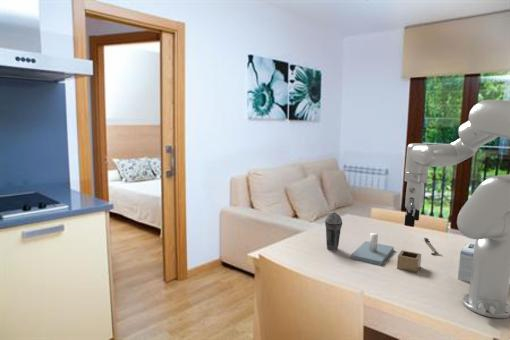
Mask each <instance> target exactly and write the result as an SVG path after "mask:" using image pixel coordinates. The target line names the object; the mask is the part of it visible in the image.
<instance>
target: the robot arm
mask: <svg viewBox="0 0 510 340" xmlns="http://www.w3.org/2000/svg"><path fill="white" fill-rule="evenodd" d="M457 133H458V136H459V138H458V139H456V140H455V141H453V142H450V143H449V144H448V143H447V144H445V143H444V144H427V143H419V142H418V143H416V142H414V143H409V144H408V145H407V148H406V159H405V170H404V180H403V181H404V182H406V183H407V184H406V192H405V203H404V206H405V209H406V211H405V214H404V226H406V227H410V228H414V227H415V221H419V220H420V212H421V211H420V210H421V209H422V208H423V206H424V198H425V197H424V196H425V184H427V183H428V174H429V168H434V167H435V168H436V167H452V166H455V165H458V164H460V163H462V162H464V161H465V160H468V159H470V158H471V157H473V156H474V155H475V154H476V153H477V152H478V150H479V149H480V147H482V146H484V145H486V144H488V143H490V142H491V141H493V140H495V139H497V138H503V139H507V140H509V141H510V100H504V99H502V100H501V99H485V100H482V101H481V100H480V101H479V102H477V103H476V104H474V105H473V106H472V108H471V109H470V111H469V114H468V120H467V121H465V122H464V123H462V124H461V125H460V126H459V127H458V131H457ZM456 225H457V229H458V230H459V233H460V234H462V235H463V236H464V237H466V238H468V239H471V240H475V243H474V245H475V246H474V253H473V262H472V271H471V280H470V282H469V290H468V294H465V295H463V296H462V300H461V301H462V304H463V305H464V306H465V307H466V308H467V309H469V310H470V311H471V312H474V313H476V314H479V315H482V316H486V317H489V318H494V319H495V318H496V319H507V318H509V317H510V304H508V296H509V289H510V173H508V174H501V175H500V174H499V175H493V176H491V177H488V178H486V179H485V180H483V181H482V182H481V183H480V184H479V185H478V186H477V187H476V189H475V190H474V191H473V193H472V194H471V195H470V197H469V198H468V200H466V201H465V203H464V205H463V206H461V209H460V210H459V213H458V214H457V219H456Z"/></svg>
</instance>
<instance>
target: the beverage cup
mask: <svg viewBox="0 0 510 340" xmlns="http://www.w3.org/2000/svg"><path fill="white" fill-rule="evenodd" d="M336 207H337V202H334V207H333V209H334V210H333V212H332V213H329V214H327V216H326V218H325V220H324V223H325V224H324V225H325V236H326V239H325V240H326V250H328V251H330V252H331V251H332V252H335V251H338V249H339V244H340V239H341V237H340V236H341V230H342V227H343V219H342V217H341V215H339V214H338V213H336Z"/></svg>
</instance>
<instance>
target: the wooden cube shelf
mask: <svg viewBox="0 0 510 340" xmlns="http://www.w3.org/2000/svg"><path fill="white" fill-rule="evenodd" d="M396 261H397V263H396V269H398V270H402V271H407V272H411V273H415V274H418V272H419V270H420V268H421V264H422V262H421V261H422V253H418V252H412V251H410V250H409V251H408V250H404V249H402V250H401V251H400V252H399V253H398V255H397V260H396Z"/></svg>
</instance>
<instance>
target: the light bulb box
mask: <svg viewBox="0 0 510 340" xmlns="http://www.w3.org/2000/svg"><path fill="white" fill-rule="evenodd" d="M474 246H475V243H474V244H473V243H469V242H466V243H465V245H464V246H463V247H462V249H460V251H459V252H460V253H459V254H460V255H459V261H458V263H459V264H458V272H457V280H460V281H463V282H467V283H470V280H471V271H472V262H473V253H474Z"/></svg>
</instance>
